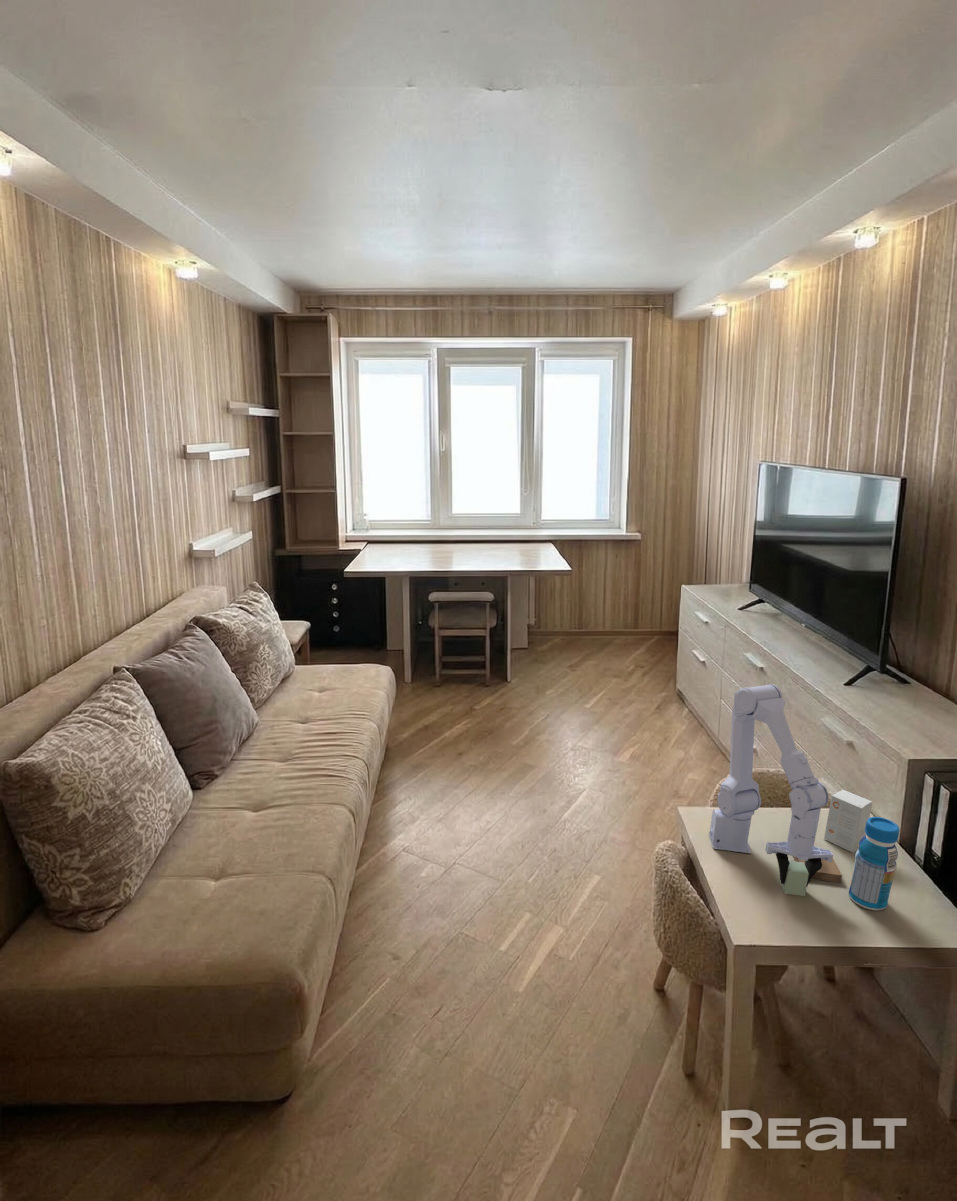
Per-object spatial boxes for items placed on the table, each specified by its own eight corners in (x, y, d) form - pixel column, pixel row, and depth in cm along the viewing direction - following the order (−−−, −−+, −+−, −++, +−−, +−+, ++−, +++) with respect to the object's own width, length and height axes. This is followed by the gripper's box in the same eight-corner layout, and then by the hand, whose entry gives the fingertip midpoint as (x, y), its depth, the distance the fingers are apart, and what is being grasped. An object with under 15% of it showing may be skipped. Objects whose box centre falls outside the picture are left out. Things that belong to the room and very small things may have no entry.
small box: (864, 845, 200) (873, 801, 197) (853, 853, 196) (862, 808, 193) (834, 832, 206) (842, 788, 203) (822, 839, 202) (831, 795, 199)
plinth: (801, 877, 185) (803, 870, 184) (792, 856, 193) (793, 849, 193) (840, 882, 184) (841, 875, 183) (829, 861, 192) (830, 854, 192)
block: (784, 893, 178) (788, 870, 177) (780, 882, 182) (784, 860, 181) (804, 896, 178) (808, 873, 176) (799, 884, 182) (803, 862, 180)
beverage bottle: (852, 908, 174) (868, 830, 169) (843, 886, 182) (858, 811, 177) (892, 915, 172) (909, 836, 167) (881, 893, 180) (898, 817, 175)
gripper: (773, 836, 173) (765, 888, 177) (840, 845, 171) (830, 897, 175) (767, 820, 180) (758, 871, 184) (831, 828, 178) (821, 879, 182)
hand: (793, 883), depth 180 cm, fingers closed on block, 4 cm apart
